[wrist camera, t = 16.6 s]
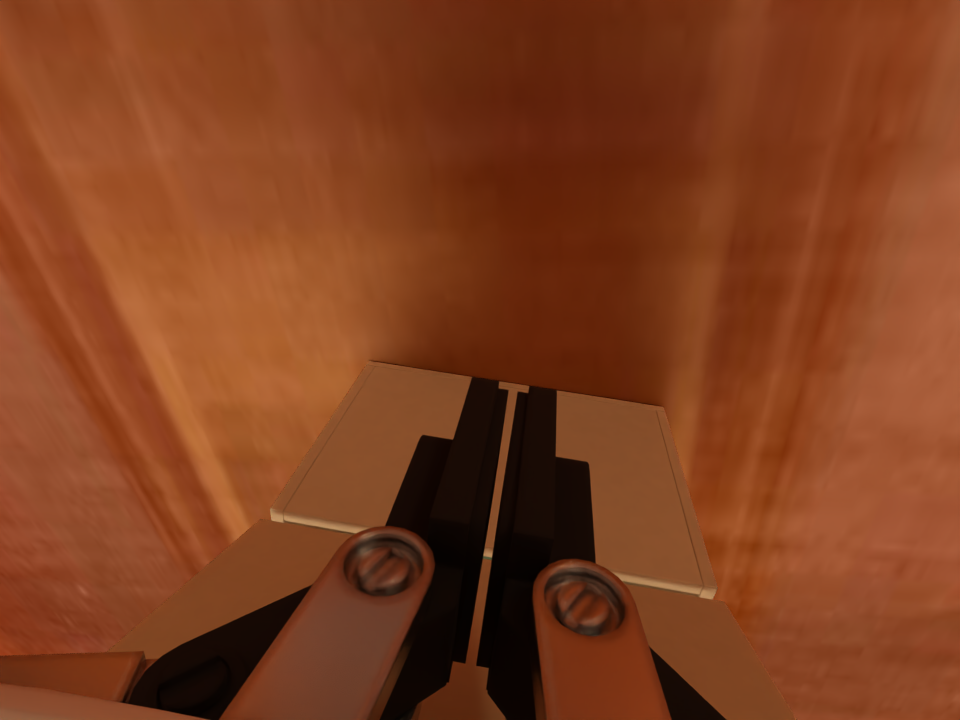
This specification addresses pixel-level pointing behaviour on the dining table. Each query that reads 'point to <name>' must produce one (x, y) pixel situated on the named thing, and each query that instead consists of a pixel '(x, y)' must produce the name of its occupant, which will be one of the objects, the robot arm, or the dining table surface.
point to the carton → (579, 435)
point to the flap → (464, 700)
